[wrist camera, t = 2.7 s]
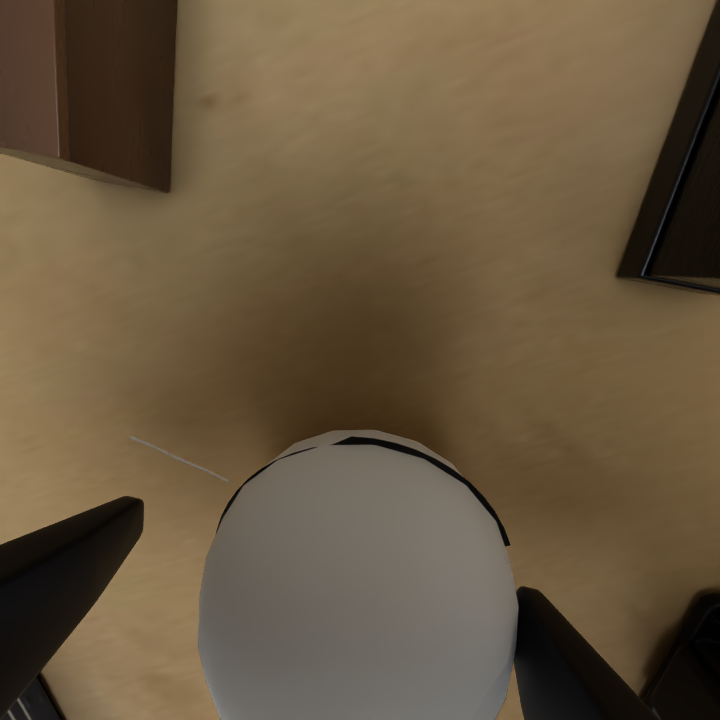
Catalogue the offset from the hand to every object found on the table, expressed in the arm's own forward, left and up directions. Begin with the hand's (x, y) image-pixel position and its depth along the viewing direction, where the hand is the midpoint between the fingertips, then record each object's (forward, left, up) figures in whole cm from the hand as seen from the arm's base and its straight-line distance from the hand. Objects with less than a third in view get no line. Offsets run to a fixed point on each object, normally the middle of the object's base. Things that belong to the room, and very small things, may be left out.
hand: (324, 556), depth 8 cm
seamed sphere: (0, 0, -4) cm, 4 cm away
